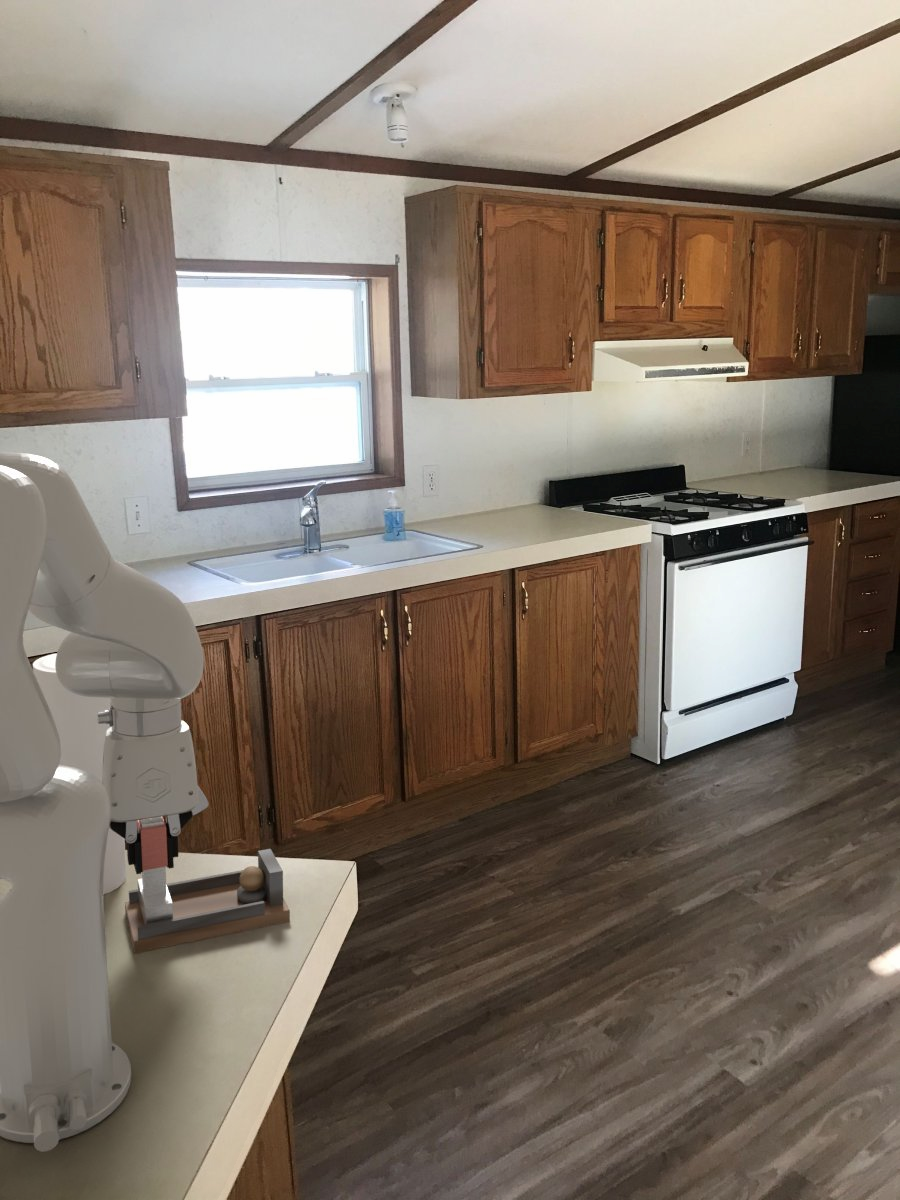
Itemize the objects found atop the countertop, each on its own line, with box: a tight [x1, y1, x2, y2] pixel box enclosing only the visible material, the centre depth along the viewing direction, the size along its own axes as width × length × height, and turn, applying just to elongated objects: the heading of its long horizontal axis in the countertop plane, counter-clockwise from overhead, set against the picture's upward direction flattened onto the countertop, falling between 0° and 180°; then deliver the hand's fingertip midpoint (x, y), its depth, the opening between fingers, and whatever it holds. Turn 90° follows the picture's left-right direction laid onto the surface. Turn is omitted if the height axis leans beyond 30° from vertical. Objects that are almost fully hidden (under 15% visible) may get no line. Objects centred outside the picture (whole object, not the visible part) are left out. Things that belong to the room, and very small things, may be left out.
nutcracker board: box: [124, 848, 291, 954], centre depth 117 cm, size 9×18×6 cm, turn 114°
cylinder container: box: [32, 653, 127, 896], centre depth 122 cm, size 9×9×30 cm
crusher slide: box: [137, 816, 173, 924], centre depth 113 cm, size 7×3×12 cm, turn 24°
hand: (153, 864), depth 113 cm, fingers closed on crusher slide, 2 cm apart
